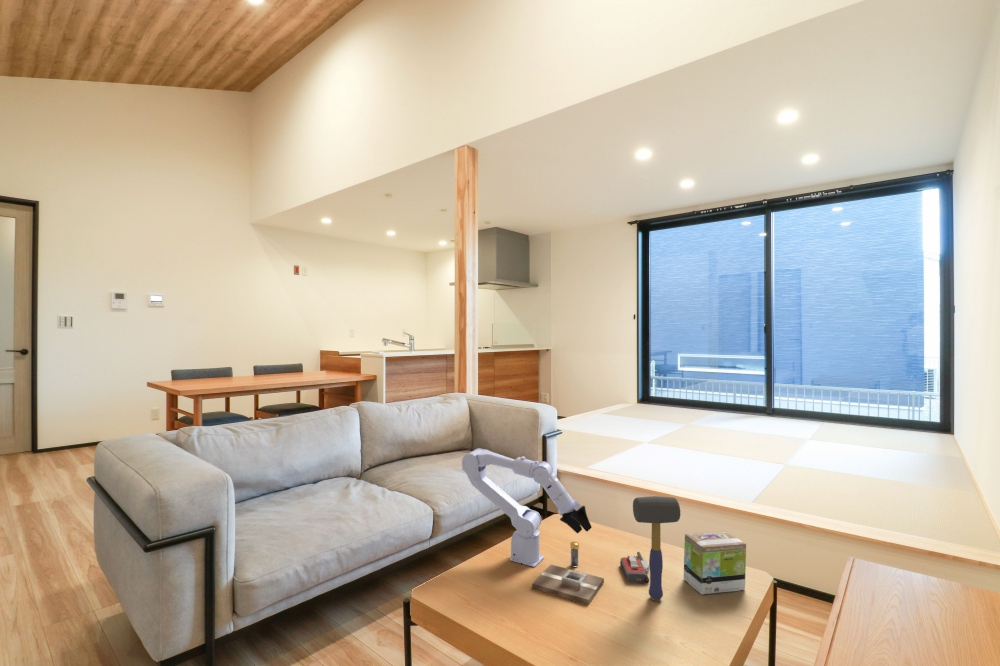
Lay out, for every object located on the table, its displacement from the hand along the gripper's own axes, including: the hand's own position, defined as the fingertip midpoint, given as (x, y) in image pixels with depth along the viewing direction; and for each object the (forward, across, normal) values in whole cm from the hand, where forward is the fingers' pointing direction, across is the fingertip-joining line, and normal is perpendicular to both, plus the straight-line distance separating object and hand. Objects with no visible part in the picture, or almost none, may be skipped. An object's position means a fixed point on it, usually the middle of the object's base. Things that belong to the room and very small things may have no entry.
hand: (584, 530), depth 160 cm
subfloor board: (+8, -1, +16) cm, 18 cm away
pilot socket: (+9, -3, +14) cm, 17 cm away
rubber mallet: (+25, -13, 0) cm, 28 cm away
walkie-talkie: (+20, +2, -7) cm, 22 cm away
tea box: (+35, -12, -19) cm, 42 cm away
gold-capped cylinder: (+8, +9, +7) cm, 14 cm away
